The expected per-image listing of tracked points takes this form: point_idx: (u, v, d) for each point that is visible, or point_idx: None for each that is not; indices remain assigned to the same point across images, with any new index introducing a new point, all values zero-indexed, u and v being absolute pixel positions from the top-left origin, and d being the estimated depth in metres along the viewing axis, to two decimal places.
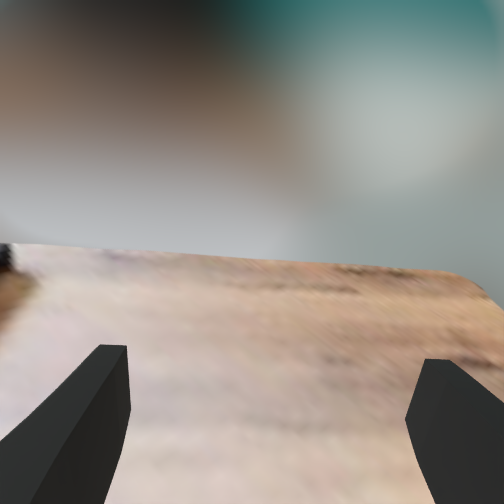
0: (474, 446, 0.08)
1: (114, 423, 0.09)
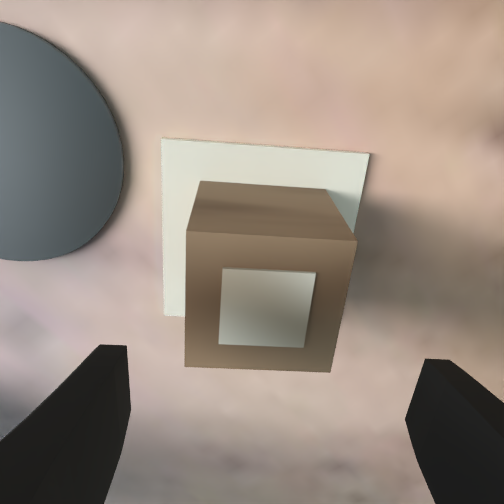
0: (474, 446, 0.08)
1: (114, 423, 0.09)
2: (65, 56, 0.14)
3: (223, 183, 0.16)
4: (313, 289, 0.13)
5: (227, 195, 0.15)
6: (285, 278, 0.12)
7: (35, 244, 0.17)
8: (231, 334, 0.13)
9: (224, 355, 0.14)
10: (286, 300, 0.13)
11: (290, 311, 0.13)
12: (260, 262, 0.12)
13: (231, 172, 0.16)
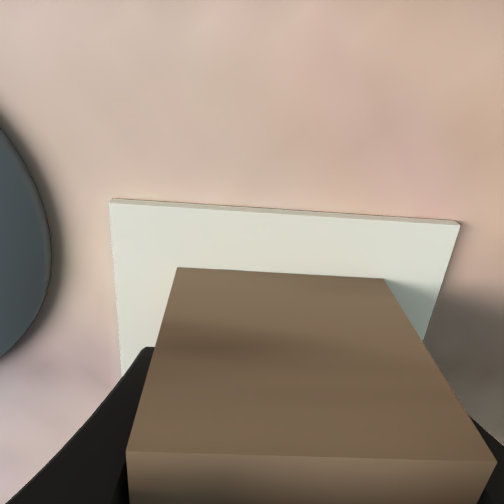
0: None
1: None
2: None
3: (215, 273, 0.10)
4: None
5: (221, 308, 0.08)
6: None
7: None
8: None
9: None
10: None
11: None
12: (287, 497, 0.06)
13: (229, 254, 0.10)
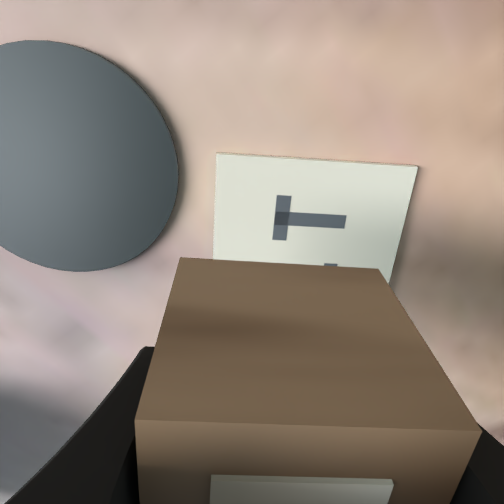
0: None
1: None
2: (128, 76, 0.15)
3: (217, 262, 0.10)
4: None
5: (223, 295, 0.09)
6: (334, 492, 0.06)
7: (90, 255, 0.18)
8: None
9: None
10: None
11: None
12: (285, 466, 0.06)
13: (282, 185, 0.17)
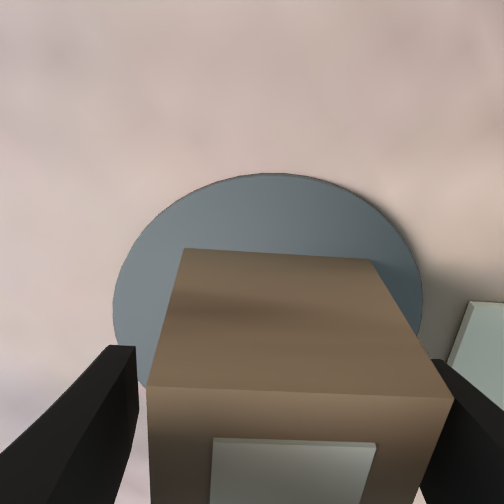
0: (464, 446, 0.08)
1: (124, 423, 0.09)
2: None
3: (218, 252, 0.11)
4: (368, 466, 0.07)
5: (224, 281, 0.10)
6: (323, 454, 0.07)
7: None
8: None
9: None
10: (322, 482, 0.08)
11: (329, 498, 0.08)
12: (280, 430, 0.07)
13: None
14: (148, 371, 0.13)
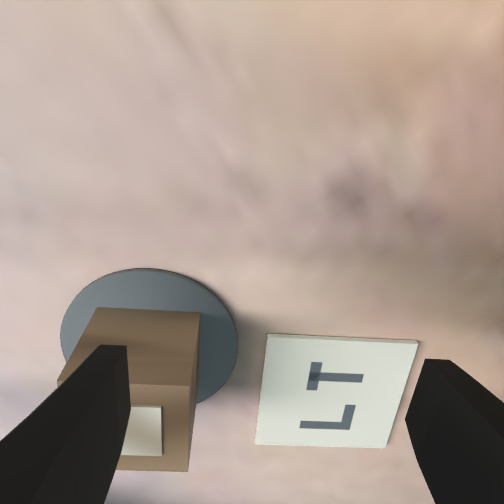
0: (474, 446, 0.08)
1: (114, 423, 0.09)
2: (206, 290, 0.20)
3: (115, 309, 0.20)
4: (162, 417, 0.17)
5: (111, 328, 0.19)
6: (137, 410, 0.16)
7: None
8: None
9: None
10: (142, 424, 0.17)
11: (146, 432, 0.17)
12: None
13: (316, 356, 0.22)
14: None
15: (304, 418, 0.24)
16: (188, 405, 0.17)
